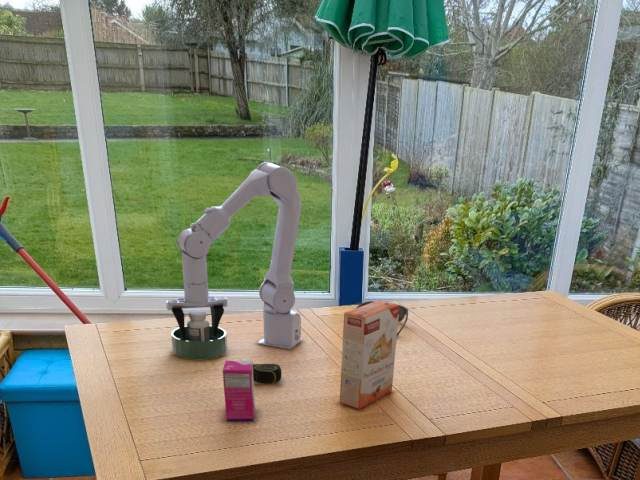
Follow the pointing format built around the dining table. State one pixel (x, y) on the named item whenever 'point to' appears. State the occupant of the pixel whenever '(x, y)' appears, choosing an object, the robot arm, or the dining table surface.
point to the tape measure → (266, 373)
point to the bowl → (199, 345)
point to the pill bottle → (198, 326)
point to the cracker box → (368, 353)
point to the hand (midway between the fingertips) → (199, 335)
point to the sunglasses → (402, 313)
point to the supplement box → (239, 390)
